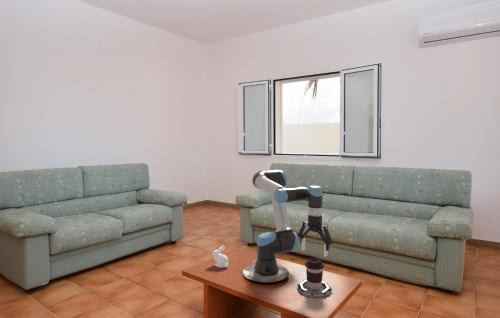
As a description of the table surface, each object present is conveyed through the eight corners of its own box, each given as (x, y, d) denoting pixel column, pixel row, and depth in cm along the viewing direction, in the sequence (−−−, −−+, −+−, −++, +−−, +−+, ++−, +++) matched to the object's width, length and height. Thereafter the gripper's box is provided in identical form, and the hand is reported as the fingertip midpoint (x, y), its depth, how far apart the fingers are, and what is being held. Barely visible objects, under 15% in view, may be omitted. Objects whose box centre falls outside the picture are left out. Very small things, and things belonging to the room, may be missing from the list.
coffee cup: (323, 292, 169) (324, 264, 168) (304, 290, 171) (305, 263, 170) (323, 284, 179) (323, 258, 178) (305, 282, 181) (305, 256, 180)
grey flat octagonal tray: (291, 290, 174) (291, 286, 174) (308, 279, 188) (308, 276, 187) (321, 301, 162) (321, 297, 162) (336, 288, 176) (337, 284, 176)
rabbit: (210, 265, 210) (210, 247, 209) (221, 261, 217) (221, 243, 216) (223, 270, 202) (223, 251, 201) (234, 265, 209) (234, 247, 208)
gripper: (291, 212, 178) (291, 249, 179) (333, 220, 162) (332, 261, 163) (298, 210, 183) (298, 246, 185) (339, 217, 167) (338, 256, 169)
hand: (314, 253), depth 174 cm, fingers open, 13 cm apart
